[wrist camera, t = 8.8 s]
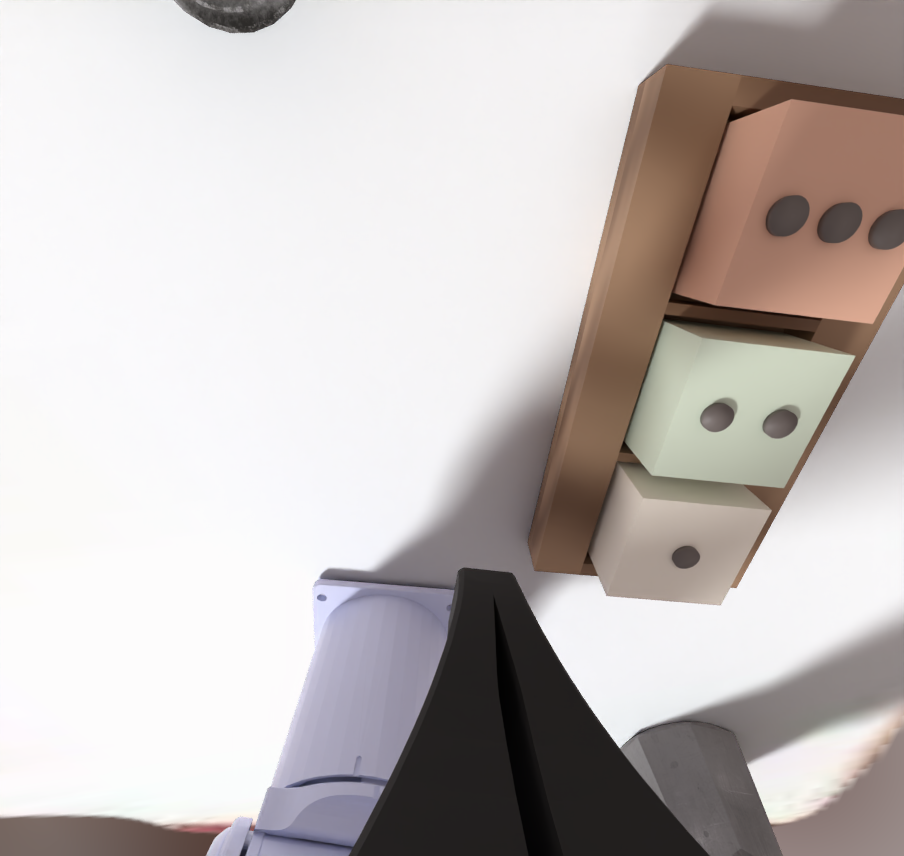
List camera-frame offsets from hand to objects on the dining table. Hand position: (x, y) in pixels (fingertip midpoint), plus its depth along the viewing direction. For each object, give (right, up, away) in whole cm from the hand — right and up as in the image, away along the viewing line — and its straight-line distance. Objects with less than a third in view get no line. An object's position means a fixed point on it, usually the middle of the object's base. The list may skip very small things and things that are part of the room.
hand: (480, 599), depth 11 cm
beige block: (+9, +1, +9) cm, 12 cm away
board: (+9, +6, +7) cm, 13 cm away
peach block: (+10, +11, +4) cm, 16 cm away
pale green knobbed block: (+9, +6, +6) cm, 13 cm away
